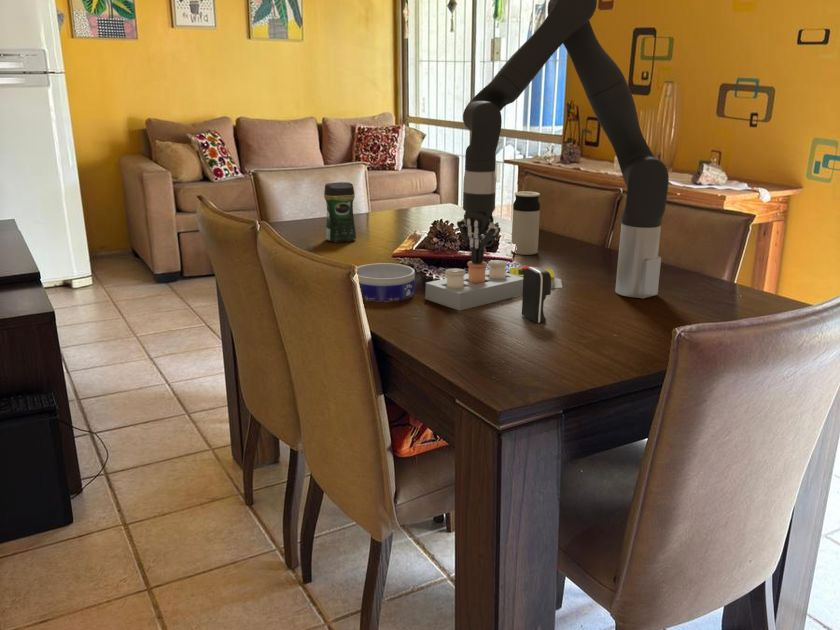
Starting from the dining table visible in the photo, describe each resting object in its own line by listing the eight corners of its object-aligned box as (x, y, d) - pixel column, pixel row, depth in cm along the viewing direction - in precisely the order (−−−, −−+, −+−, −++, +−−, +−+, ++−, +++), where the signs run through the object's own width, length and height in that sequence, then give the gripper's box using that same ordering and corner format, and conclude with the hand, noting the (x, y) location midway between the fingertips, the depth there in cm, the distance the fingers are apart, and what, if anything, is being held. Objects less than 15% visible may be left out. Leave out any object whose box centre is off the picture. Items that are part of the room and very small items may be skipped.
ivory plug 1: (468, 300, 179) (469, 271, 177) (454, 303, 177) (454, 274, 174) (455, 295, 183) (456, 267, 181) (441, 299, 180) (441, 270, 178)
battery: (551, 322, 165) (554, 271, 162) (535, 324, 164) (538, 273, 160) (535, 313, 171) (538, 264, 168) (520, 315, 170) (523, 265, 166)
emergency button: (504, 262, 201) (561, 264, 200) (503, 278, 203) (560, 280, 201) (503, 271, 193) (563, 273, 191) (502, 287, 194) (562, 290, 192)
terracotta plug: (489, 291, 183) (490, 263, 181) (476, 294, 181) (476, 266, 178) (476, 287, 187) (477, 259, 185) (462, 290, 184) (463, 262, 182)
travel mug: (525, 256, 225) (528, 195, 220) (505, 252, 231) (508, 192, 226) (542, 253, 230) (546, 193, 225) (523, 248, 236) (525, 190, 231)
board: (525, 294, 186) (526, 278, 185) (459, 310, 173) (459, 293, 172) (491, 284, 195) (491, 269, 194) (425, 298, 182) (425, 282, 181)
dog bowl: (401, 306, 177) (401, 280, 175) (341, 299, 182) (340, 274, 180) (423, 289, 190) (423, 266, 189) (367, 283, 195) (367, 260, 194)
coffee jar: (352, 237, 251) (351, 180, 245) (358, 241, 243) (357, 183, 238) (323, 238, 248) (321, 181, 242) (328, 243, 240) (326, 184, 235)
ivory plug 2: (509, 290, 188) (511, 262, 186) (496, 293, 185) (497, 265, 183) (496, 286, 191) (497, 259, 189) (483, 289, 188) (484, 262, 186)
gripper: (511, 192, 174) (508, 266, 179) (471, 185, 184) (469, 255, 189) (488, 195, 169) (485, 270, 174) (448, 188, 179) (446, 260, 184)
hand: (477, 262), depth 182 cm, fingers closed
